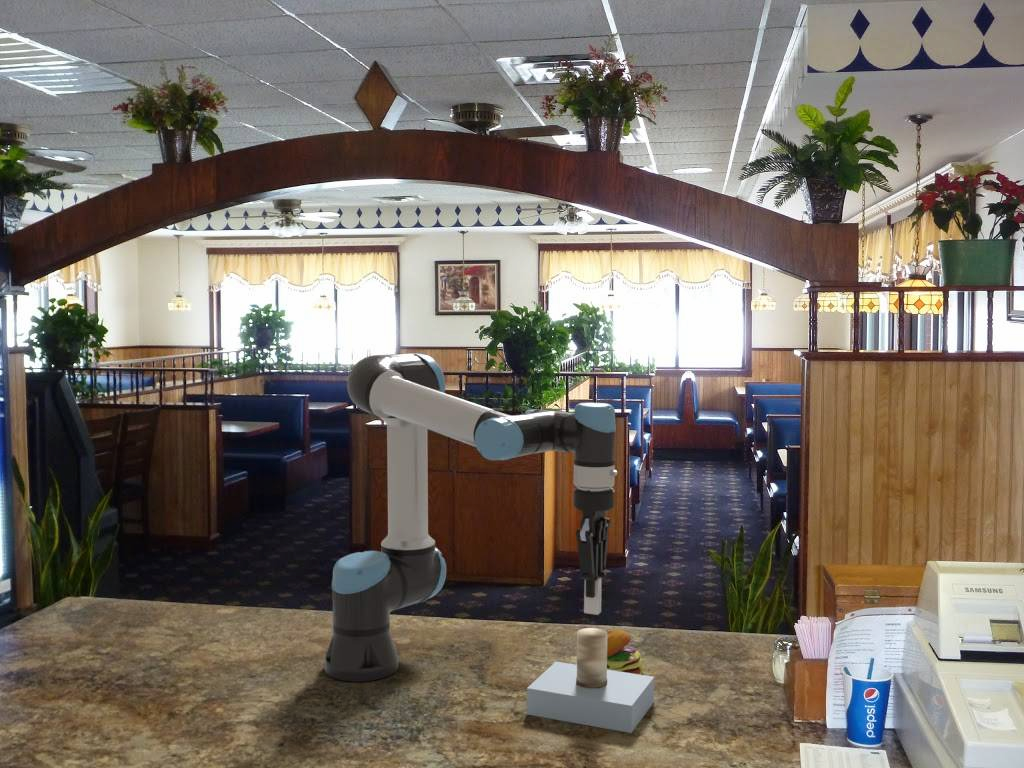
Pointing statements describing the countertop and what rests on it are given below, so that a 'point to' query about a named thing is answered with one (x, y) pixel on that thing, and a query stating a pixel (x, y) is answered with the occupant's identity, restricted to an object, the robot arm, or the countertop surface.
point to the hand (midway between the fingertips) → (592, 612)
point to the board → (591, 698)
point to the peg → (591, 658)
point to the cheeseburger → (622, 654)
